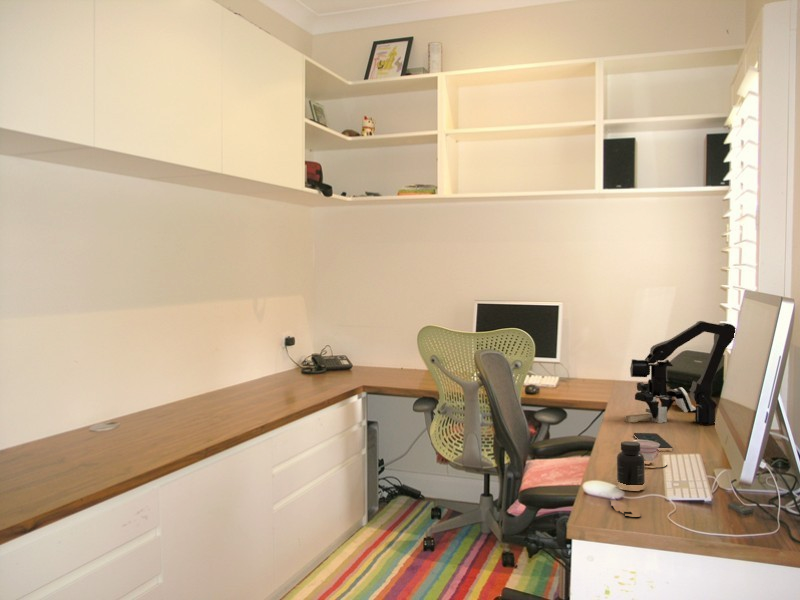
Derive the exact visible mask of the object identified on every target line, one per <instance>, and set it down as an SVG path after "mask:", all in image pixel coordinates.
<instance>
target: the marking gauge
mask: <svg viewBox="0 0 800 600" xmlns="http://www.w3.org/2000/svg"><path fill="white" fill-rule="evenodd" d="M645 413H647V414H648V413H651V411H650V408H645ZM667 416H668V412H667V407H666V406H662V405H661V404H659V405H658V410H657V416H656V418H653V416H652V414H651V422H653V421H654V423H656V422H657V424H663V422H665V423H667V422H668V417H667Z"/></svg>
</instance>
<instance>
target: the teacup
mask: <svg viewBox="0 0 800 600" xmlns="http://www.w3.org/2000/svg"><path fill="white" fill-rule="evenodd" d="M631 441H632V442H638V443H640V452H639V453H641V454H642V455H643V456H644V461H653V460H655V459H656V458H657V457H658V456H659V452H660V451H659V450H658V449H657V448H658V447H659V446H660V444H659V443H657V442H654V441H649V440H637V439H633V440H631Z"/></svg>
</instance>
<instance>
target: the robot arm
mask: <svg viewBox="0 0 800 600" xmlns="http://www.w3.org/2000/svg"><path fill="white" fill-rule="evenodd" d="M735 329H736V330H737V328H736V327H735V326H734V325H733V324H731V323H727V322H721V323H718V324H717V323H713V322H712V323H711V322H707V321H704V320H699V321H696V323H695V324H693V325H692V326H690V327H688V328H686V329H684V330H683V331H681V332H679V333H678V334H676V335H675V336H673V337H671V338H670V339H668V340H664V341H661V342H659V343H656V344H654V345H652V346H651V347H650V350H649V353H648V354H647V356H646V357H645V359H635V358H634V359H633V358H632V359H631V361H630V362H631V363H630V367H629V369H630V371H629V372H630V377H631V378H647V377H648V376H650V378H649V379H648V380H647V383H644V382H643V381H640V382H637V383H636V390H637V392H636V393H635V394H634V401H635V400H636V401H640V402H643V403H646V404H647V406H648V409H650V411H651V414H652V416H653V418H656V416H657V410H658V405H662V406H666V407H667V413H668V411H670V408H671V407H672V406H673V404H674V402H676V400H675V398H676V399H683V393H682V392H681V391H678V390H674V389H668V384H670V380H668V367H673V366H674V365H673V364H672V363H671V362H670V360H669V359H668V358H669V357H670V356H671V355H672V354H673V353H674V352H675V351H676V350H677V349H678V348H679V347H681V346H684V345H685V344H686V343H688V342H689V341H691V340H693V339H694V338H696V337H698V336H699V335H701V334H703V333H709V334H713V345H712V347H711V350H710V352H709V356H708V358H707V360H706V362H705V366H704V368H703V370H702V373H701V376H700V378H699V379H698V380H696V381H694V380H692V384H691V387H690V388H689V390H688V391H690V392H689V396H690V398H691V399H692V400H693V401H694V402H695V408H696V410H695V411H694V412H695V413H694V414H695V415H694V416H695V417H694V418H695V420H692V423H695V424H700V425H702V426H712V425H715V424H714V422H716V409H717V406H718V405H717V403H716V401H714V400H713V399H712V398H711V397H712V392H713V390H712V389H713V382H714V379H715V376H716V375H717V371H718V370H719V366H720V363H721V361H722V359H723V357H724V354H725V351H726V349H727V347H729V345H730V344H731V343H732V342H733V340H734V339H733V338H735V337H734V333H735ZM674 397H675V398H674ZM673 398H674V399H673ZM657 399H659V401H657ZM659 403H660V404H659ZM711 424H712V425H711Z"/></svg>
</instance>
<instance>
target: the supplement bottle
mask: <svg viewBox="0 0 800 600" xmlns="http://www.w3.org/2000/svg"><path fill="white" fill-rule="evenodd" d="M632 441H633V440H631V441H630V440H628V441H627V440H626V441H621V442H620V450H621V451H620V452H618V453H617V456H616V481H617V480H618V482H620V483H623V484H626V485H643V484H644V483H645V484H646V482H645V481H646V480H645V479H646V477H645V475H646V474H645V471H646V468H645V464H644V456H643V455H642V454H641V453H639V452H640V443H638V442H632Z"/></svg>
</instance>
